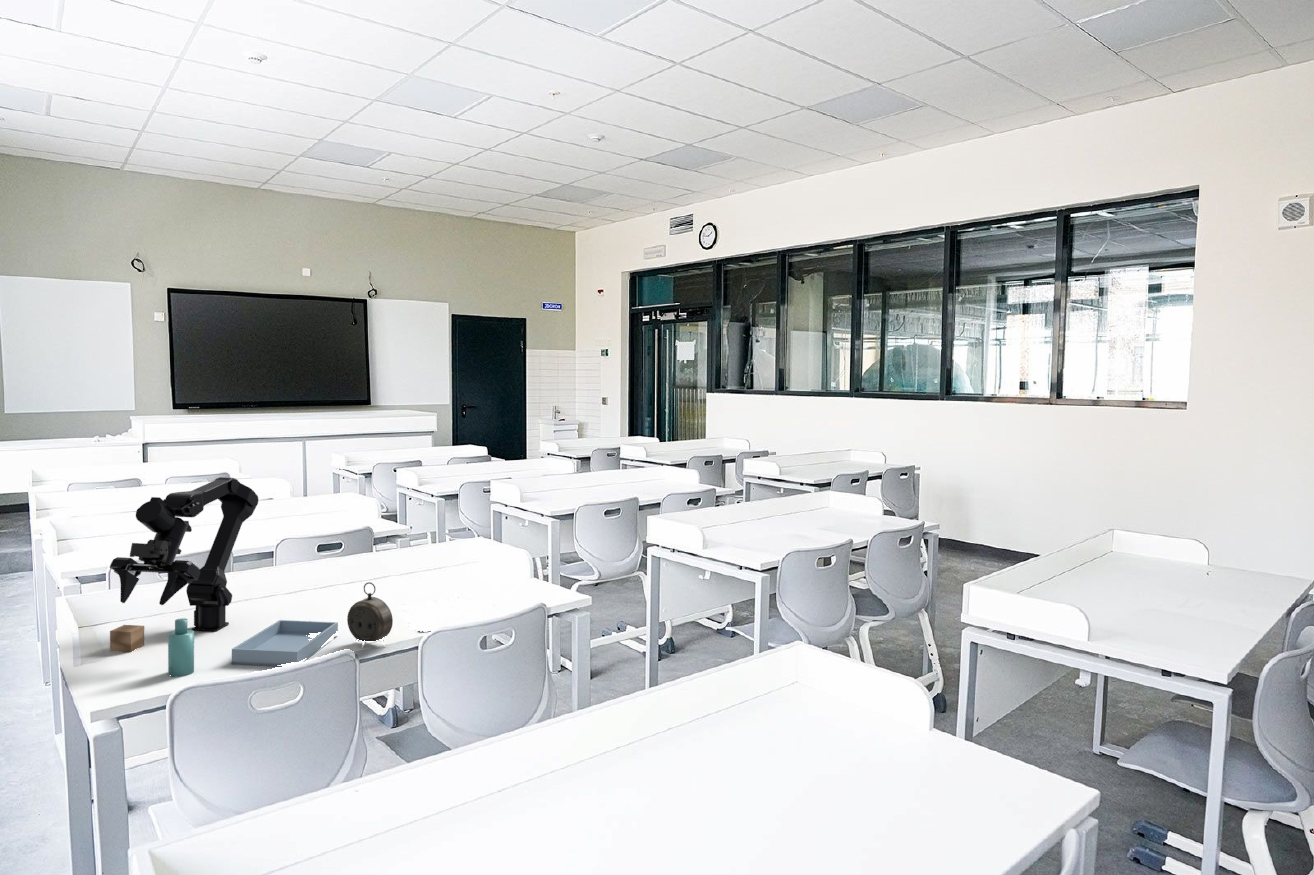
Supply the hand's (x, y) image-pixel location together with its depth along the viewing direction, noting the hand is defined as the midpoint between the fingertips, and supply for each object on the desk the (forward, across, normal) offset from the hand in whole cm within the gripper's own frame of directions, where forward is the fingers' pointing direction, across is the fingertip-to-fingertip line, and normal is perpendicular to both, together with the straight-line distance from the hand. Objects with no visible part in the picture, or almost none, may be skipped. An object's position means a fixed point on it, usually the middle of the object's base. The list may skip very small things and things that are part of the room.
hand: (141, 603), depth 187 cm
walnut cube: (+7, -9, +14) cm, 18 cm away
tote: (+3, +28, +19) cm, 34 cm away
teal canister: (+14, +13, +4) cm, 19 cm away
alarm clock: (0, +45, +24) cm, 51 cm away
